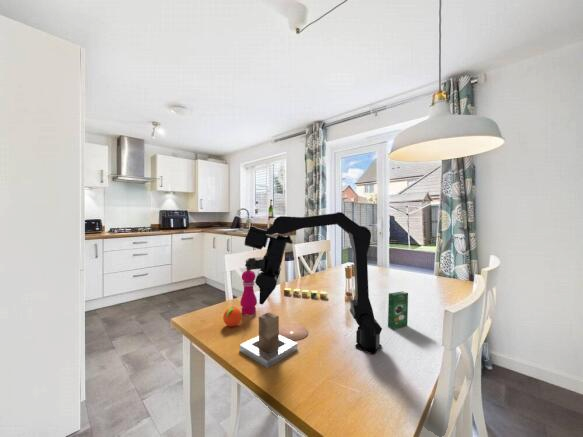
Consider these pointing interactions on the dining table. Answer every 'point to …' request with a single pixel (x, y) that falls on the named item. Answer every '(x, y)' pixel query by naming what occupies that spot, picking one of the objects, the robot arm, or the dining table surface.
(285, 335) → the terracotta coaster
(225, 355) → the dining table surface
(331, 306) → the dining table surface
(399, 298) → the coffee box
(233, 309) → the clementine
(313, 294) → the yellow cube row
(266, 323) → the walnut block
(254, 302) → the pepper mill
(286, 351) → the metal collar stand
